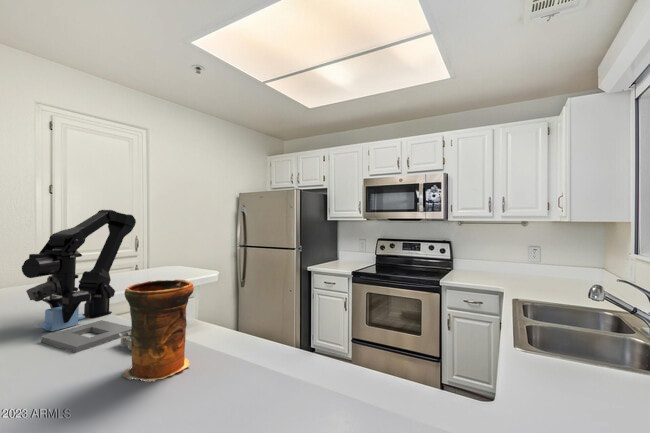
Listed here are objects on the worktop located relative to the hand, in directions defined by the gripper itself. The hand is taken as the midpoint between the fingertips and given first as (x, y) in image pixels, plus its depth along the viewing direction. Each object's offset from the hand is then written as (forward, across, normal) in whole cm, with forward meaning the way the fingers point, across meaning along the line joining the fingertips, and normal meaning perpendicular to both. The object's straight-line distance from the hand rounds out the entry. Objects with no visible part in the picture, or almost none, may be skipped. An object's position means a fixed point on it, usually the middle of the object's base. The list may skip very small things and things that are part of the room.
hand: (61, 321), depth 97 cm
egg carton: (+2, +34, +2) cm, 34 cm away
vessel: (+2, +50, -6) cm, 50 cm away
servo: (+2, 0, 0) cm, 2 cm away
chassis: (+2, +16, -1) cm, 16 cm away
